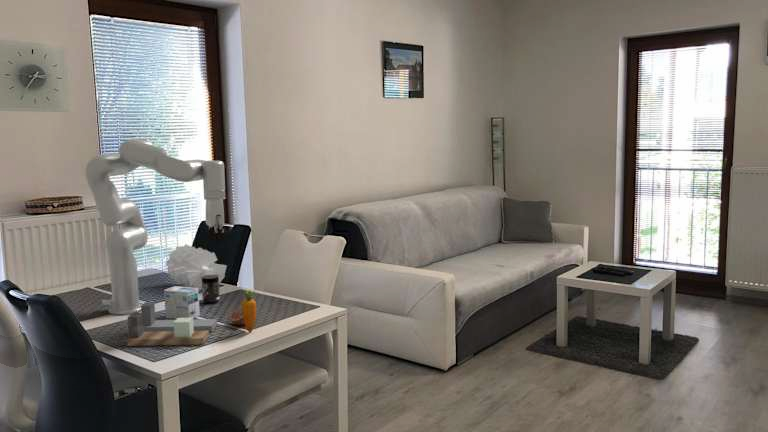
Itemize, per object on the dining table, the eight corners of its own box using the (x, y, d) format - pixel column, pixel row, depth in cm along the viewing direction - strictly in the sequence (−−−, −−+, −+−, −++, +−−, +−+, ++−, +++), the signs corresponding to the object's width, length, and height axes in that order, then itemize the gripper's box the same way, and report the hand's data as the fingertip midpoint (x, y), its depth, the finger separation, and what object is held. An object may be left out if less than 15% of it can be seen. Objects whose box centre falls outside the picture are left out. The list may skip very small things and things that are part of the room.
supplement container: (206, 299, 265) (205, 274, 264) (222, 299, 265) (221, 274, 263) (199, 304, 259) (198, 278, 257) (216, 304, 258) (215, 278, 256)
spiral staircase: (201, 303, 275) (173, 289, 293) (234, 279, 285) (205, 267, 302) (182, 268, 267) (155, 256, 284) (217, 244, 276) (189, 234, 294)
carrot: (243, 330, 225) (241, 287, 223) (258, 329, 225) (256, 287, 223) (241, 334, 220) (239, 291, 218) (256, 334, 221) (255, 291, 218)
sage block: (174, 337, 211) (173, 322, 211) (178, 332, 216) (177, 317, 216) (189, 337, 211) (189, 322, 211) (193, 332, 216) (193, 317, 216)
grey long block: (141, 332, 222) (139, 307, 221) (148, 325, 230) (147, 300, 229) (212, 331, 223) (211, 306, 222) (217, 324, 231) (216, 299, 230)
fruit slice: (254, 325, 231) (253, 311, 230) (237, 329, 226) (236, 315, 226) (242, 320, 237) (242, 307, 236) (225, 324, 232) (225, 310, 232)
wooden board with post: (127, 345, 210) (125, 318, 208) (136, 337, 217) (134, 311, 216) (203, 344, 210) (201, 317, 209) (208, 336, 218) (207, 310, 217)
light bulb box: (200, 315, 243) (199, 287, 242) (189, 320, 237) (188, 291, 235) (176, 313, 246) (174, 285, 245) (164, 318, 240) (163, 289, 239)
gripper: (199, 193, 242) (201, 238, 244) (209, 197, 226) (211, 246, 229) (219, 192, 245) (221, 237, 248) (230, 196, 230) (232, 244, 232)
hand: (216, 241), depth 238 cm, fingers open, 9 cm apart
